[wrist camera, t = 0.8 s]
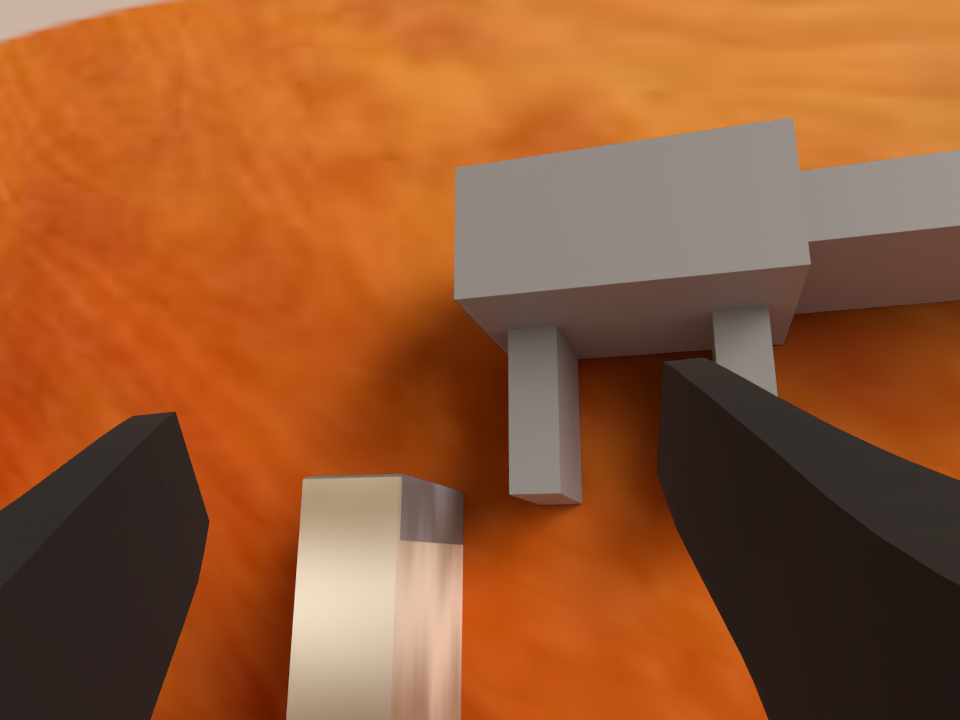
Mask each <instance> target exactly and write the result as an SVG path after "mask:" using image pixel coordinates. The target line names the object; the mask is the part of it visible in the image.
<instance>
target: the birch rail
mask: <svg viewBox="0 0 960 720" xmlns="http://www.w3.org/2000/svg"><path fill="white" fill-rule="evenodd" d="M463 520H464V492H462V491H459V490H456V489H452V488H449V487H445V486H442V485H439V484H435V483H432V482H429V481H425V480H422V479H419V478H415V477H412V476H409V475H405V474H377V475H340V476H306V479H303V487H302V501H301V515H300V530H299V544H298V558H297V572H296V586H295V601H294V615H293V629H292V643H291V657H290V672H289V686H288V700H287V714H286V720H461V660H462V589H463Z"/></svg>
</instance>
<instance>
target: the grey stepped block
mask: <svg viewBox="0 0 960 720" xmlns="http://www.w3.org/2000/svg"><path fill="white" fill-rule="evenodd" d="M454 300H455V301H456V302H457V303H458V304H459V305H460V306H461V308H462V309H463V310H464V311H465V312H466V313H467V314H468V315H469V316H470V317H471V318H472V319H473V320H474V321H475V322H476V323H477V324H478V325H479V326H480V327H481V328H482V329H483V330H484V331H485V332H486V334H487V335H488V336H489V337H490V338H491V339H492V340H493V341H494V342H495V343H496V344H497V345H498V346H499V347H500V348H501V349H502V350H503V351H504V352H505V353H506V354H507V355H508V390H509V495H512V496H515V497H518V498H521V499H523V500H526V501H529V502H532V503H535V504H537V505H557V504H583V499H582V468H581V437H580V407H579V376H578V359H588V358H602V357H616V356H630V355H644V354H657V353H671V352H685V351H699V350H712V357H713V362H715V363H717V364H719V365H721V366H723V367H725V368H727V369H729V370H730V371H732V372H734V373H736V374H738V375H740V376H741V377H743V378H745V379H747V380H749V381H750V382H752V383H754V384H756V385H758V386H759V387H761V388H763V389H765V390H766V391H768V392H770V393H772V394H774V395H775V396H777V397H778V394H777V385H776V375H775V365H774V356H773V346H772V345H781V344H784V343H785V340H786V337H787V334H788V331H789V328H790V325H791V322H792V319H793V316H794V314H801V313H813V312H825V311H837V310H850V309H862V308H874V307H886V306H898V305H910V304H922V303H934V302H946V301H958V300H960V150H957V151H949V152H942V153H934V154H926V155H919V156H911V157H904V158H896V159H888V160H881V161H873V162H866V163H858V164H850V165H843V166H835V167H827V168H820V169H812V170H805V171H799V163H798V154H797V146H796V138H795V130H794V122H793V117H792V118H785V119H779V120H772V121H765V122H759V123H752V124H746V125H739V126H732V127H726V128H719V129H712V130H706V131H699V132H692V133H686V134H679V135H672V136H666V137H659V138H652V139H646V140H639V141H632V142H626V143H619V144H612V145H606V146H599V147H592V148H586V149H579V150H572V151H566V152H559V153H552V154H546V155H539V156H532V157H526V158H519V159H512V160H506V161H499V162H492V163H486V164H479V165H472V166H466V167H459V168H456V182H455V257H454Z"/></svg>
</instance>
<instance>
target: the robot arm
mask: <svg viewBox="0 0 960 720" xmlns="http://www.w3.org/2000/svg"><path fill="white" fill-rule="evenodd" d="M657 474H658V477H659V480H660V483H661V486H662V489H663V492H664V495H665V498H666V501H667V504H668V506H669V509H670V512H671V515H672V517H673V520H674V523H675V526H676V528H677V530H678V532H679V534H680V536H681V539H682V541H683V543H684V545H685V547H686V548H687V550H688V552H689V554H690V556H691V558H692V560H693V562H694V564H695V566H696V568H697V570H698V572H699V574H700V576H701V578H702V580H703V582H704V584H705V586H706V588H707V590H708V591H709V593H710V595H711V597H712V599H713V601H714V603H715V605H716V607H717V609H718V611H719V613H720V615H721V617H722V618H723V620H724V622H725V624H726V626H727V628H728V630H729V632H730V634H731V636H732V638H733V640H734V642H735V644H736V646H737V647H738V649H739V651H740V653H741V655H742V658H743V660H744V662H745V664H746V666H747V668H748V671H749V673H750V675H751V677H752V679H753V681H754V684H755V686H756V689H757V691H758V694H759V696H760V699H761V702H762V704H763V707H764V709H765V712H766V714H767V717H768V719H769V720H960V481H959V480H957V479H954V478H951V477H949V476H946V475H944V474H941V473H939V472H936V471H934V470H931V469H928V468H926V467H923V466H921V465H918V464H916V463H913V462H910V461H908V460H905V459H903V458H901V457H899V456H896V455H894V454H892V453H889V452H887V451H885V450H882V449H880V448H878V447H876V446H874V445H872V444H869V443H867V442H865V441H863V440H861V439H859V438H857V437H855V436H853V435H850V434H848V433H846V432H844V431H842V430H840V429H838V428H836V427H834V426H832V425H830V424H828V423H826V422H824V421H822V420H820V419H818V418H816V417H814V416H813V415H811V414H809V413H807V412H805V411H803V410H801V409H799V408H797V407H796V406H794V405H792V404H790V403H788V402H786V401H785V400H783V399H781V398H779V397H777V396H775V395H774V394H772V393H770V392H768V391H766V390H765V389H763V388H761V387H759V386H758V385H756V384H754V383H752V382H750V381H749V380H747V379H745V378H743V377H741V376H740V375H738V374H736V373H734V372H732V371H730V370H729V369H727V368H725V367H723V366H721V365H719V364H717V363H715V362H713V361H711V360H708V359H706V358H704V357H703V358H693V359H684V360H674V361H664V362H663V377H662V395H661V413H660V430H659V448H658V466H657ZM208 527H209V519H208V515H207V512H206V509H205V506H204V503H203V499H202V496H201V493H200V490H199V486H198V483H197V480H196V477H195V473H194V470H193V467H192V464H191V461H190V457H189V454H188V451H187V448H186V444H185V441H184V438H183V435H182V431H181V428H180V425H179V422H178V418H177V415H176V412H168V413H158V414H148V415H138V416H132V417H131V418H129V419H127V420H126V421H124V422H122V423H121V424H119V425H118V426H116V427H115V428H113V429H112V430H110V431H109V432H107V433H106V434H105V435H103V436H102V437H100V438H99V439H98V440H96V441H95V442H93V443H92V444H91V445H89V446H88V447H87V448H85V449H84V450H83V451H81V452H80V453H79V454H77V455H76V456H75V457H73V458H72V459H71V460H69V461H68V462H67V463H65V464H64V465H63V466H61V467H60V468H59V469H57V470H56V471H55V472H53V473H52V474H50V475H49V476H48V477H46V478H45V479H44V480H42V481H41V482H40V483H38V484H37V485H36V486H34V487H33V488H32V489H30V490H29V491H28V492H26V493H25V494H24V495H22V496H21V497H19V498H18V499H17V500H15V501H14V502H12V503H11V504H9V505H8V506H6V507H5V508H4V509H2V510H1V511H0V720H150V719H151V716H152V713H153V710H154V708H155V705H156V702H157V699H158V696H159V693H160V690H161V688H162V685H163V682H164V679H165V676H166V673H167V671H168V668H169V665H170V662H171V659H172V656H173V654H174V651H175V648H176V645H177V642H178V639H179V636H180V634H181V631H182V628H183V625H184V622H185V619H186V616H187V613H188V610H189V607H190V604H191V601H192V599H193V595H194V592H195V589H196V586H197V583H198V579H199V574H200V569H201V565H202V560H203V555H204V549H205V544H206V538H207V532H208Z"/></svg>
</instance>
